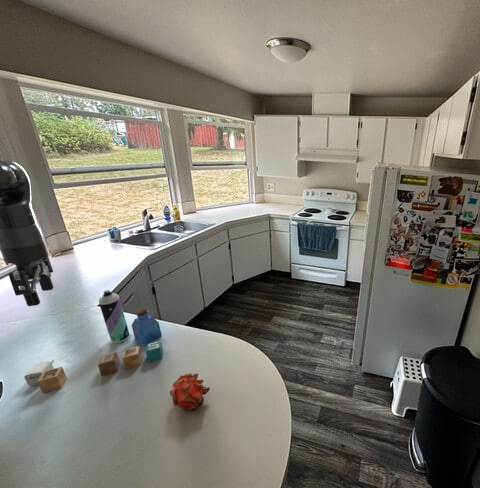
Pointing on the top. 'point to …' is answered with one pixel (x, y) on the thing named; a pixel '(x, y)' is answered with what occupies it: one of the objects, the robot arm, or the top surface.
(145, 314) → the perfume bottle
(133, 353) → the block
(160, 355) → the block
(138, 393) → the top surface
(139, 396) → the top surface
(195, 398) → the dragon fruit
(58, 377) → the block
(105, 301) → the spray can
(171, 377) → the top surface
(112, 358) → the block
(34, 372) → the usb wall charger
